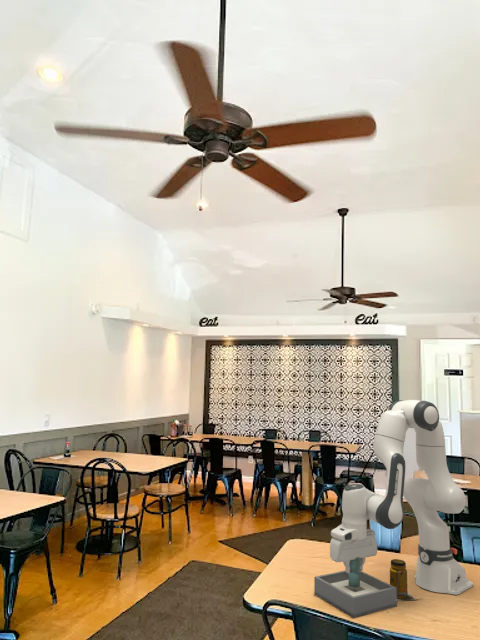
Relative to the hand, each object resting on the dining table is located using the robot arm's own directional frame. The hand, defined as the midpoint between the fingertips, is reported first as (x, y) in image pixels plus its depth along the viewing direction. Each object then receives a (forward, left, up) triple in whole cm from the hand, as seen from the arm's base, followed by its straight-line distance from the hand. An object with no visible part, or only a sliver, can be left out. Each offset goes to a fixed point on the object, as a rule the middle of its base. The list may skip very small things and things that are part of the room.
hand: (354, 571), depth 169 cm
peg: (0, 0, -5) cm, 5 cm away
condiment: (-16, +7, -9) cm, 20 cm away
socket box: (+2, +2, -9) cm, 9 cm away
